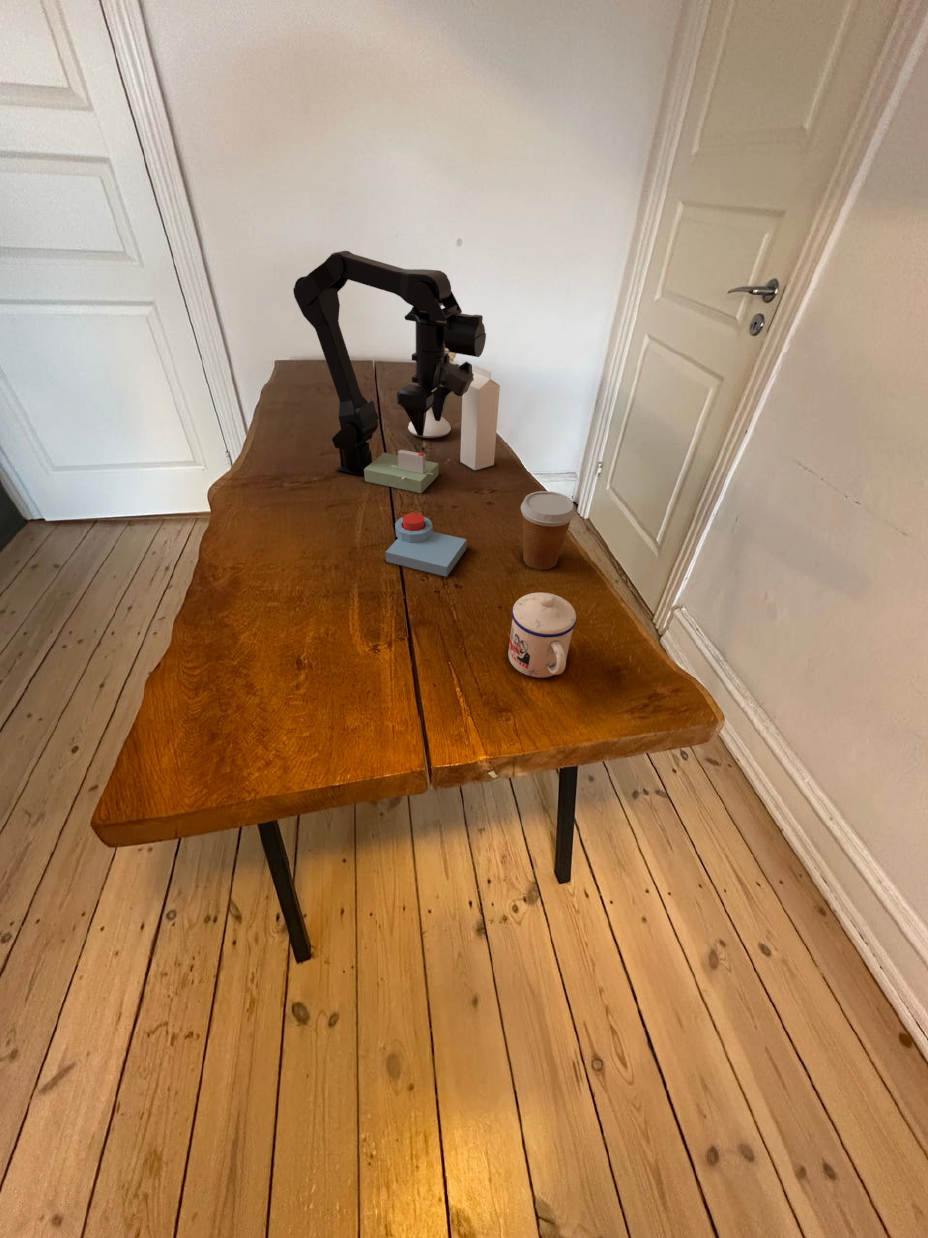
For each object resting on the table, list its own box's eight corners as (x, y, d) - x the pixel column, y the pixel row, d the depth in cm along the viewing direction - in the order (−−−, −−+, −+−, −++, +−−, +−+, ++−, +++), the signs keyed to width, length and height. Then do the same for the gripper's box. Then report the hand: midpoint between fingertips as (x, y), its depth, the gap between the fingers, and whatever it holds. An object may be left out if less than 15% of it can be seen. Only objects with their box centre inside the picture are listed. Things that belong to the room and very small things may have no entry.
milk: (474, 471, 131) (479, 374, 116) (459, 461, 134) (462, 366, 120) (494, 465, 134) (501, 369, 119) (479, 456, 137) (484, 362, 123)
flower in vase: (400, 437, 144) (396, 333, 128) (419, 423, 153) (418, 323, 136) (446, 446, 141) (448, 340, 125) (462, 431, 149) (466, 330, 133)
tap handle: (398, 468, 123) (397, 450, 120) (401, 466, 124) (400, 448, 121) (422, 473, 122) (422, 455, 119) (425, 471, 123) (425, 453, 120)
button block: (378, 560, 100) (377, 541, 98) (405, 530, 109) (405, 512, 106) (446, 577, 97) (447, 558, 95) (469, 545, 105) (469, 527, 103)
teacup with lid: (498, 643, 84) (504, 582, 77) (552, 633, 87) (563, 573, 79) (526, 700, 76) (536, 637, 68) (585, 688, 78) (602, 626, 70)
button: (399, 529, 102) (399, 520, 101) (408, 519, 105) (408, 511, 104) (419, 533, 101) (419, 525, 100) (427, 523, 104) (427, 515, 103)
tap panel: (362, 483, 124) (361, 470, 122) (384, 464, 132) (384, 451, 130) (423, 496, 120) (423, 483, 118) (442, 476, 128) (443, 463, 126)
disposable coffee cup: (532, 580, 97) (541, 521, 90) (505, 553, 104) (511, 495, 96) (575, 567, 101) (587, 509, 93) (546, 542, 107) (555, 485, 100)
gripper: (451, 367, 97) (448, 451, 107) (485, 343, 110) (479, 420, 120) (394, 357, 99) (396, 441, 110) (434, 335, 113) (433, 411, 123)
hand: (429, 427), depth 116 cm, fingers open, 9 cm apart
